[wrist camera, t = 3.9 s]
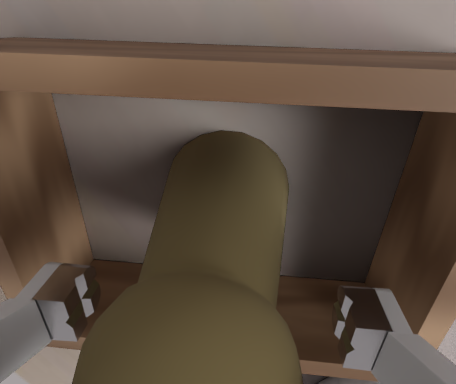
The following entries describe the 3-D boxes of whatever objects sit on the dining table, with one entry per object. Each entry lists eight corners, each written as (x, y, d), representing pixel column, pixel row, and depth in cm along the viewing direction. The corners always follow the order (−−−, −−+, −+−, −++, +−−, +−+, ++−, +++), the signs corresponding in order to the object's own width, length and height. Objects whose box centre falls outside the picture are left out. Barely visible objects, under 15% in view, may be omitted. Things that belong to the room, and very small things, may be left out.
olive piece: (149, 203, 16) (-12, 469, 7) (203, 104, 13) (60, 320, 4) (246, 254, 17) (228, 544, 8) (315, 173, 14) (420, 473, 5)
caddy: (14, 37, 13) (-114, 47, 8) (471, 53, 11) (599, 75, 7) (81, 270, 19) (28, 344, 15) (378, 296, 18) (415, 385, 14)
